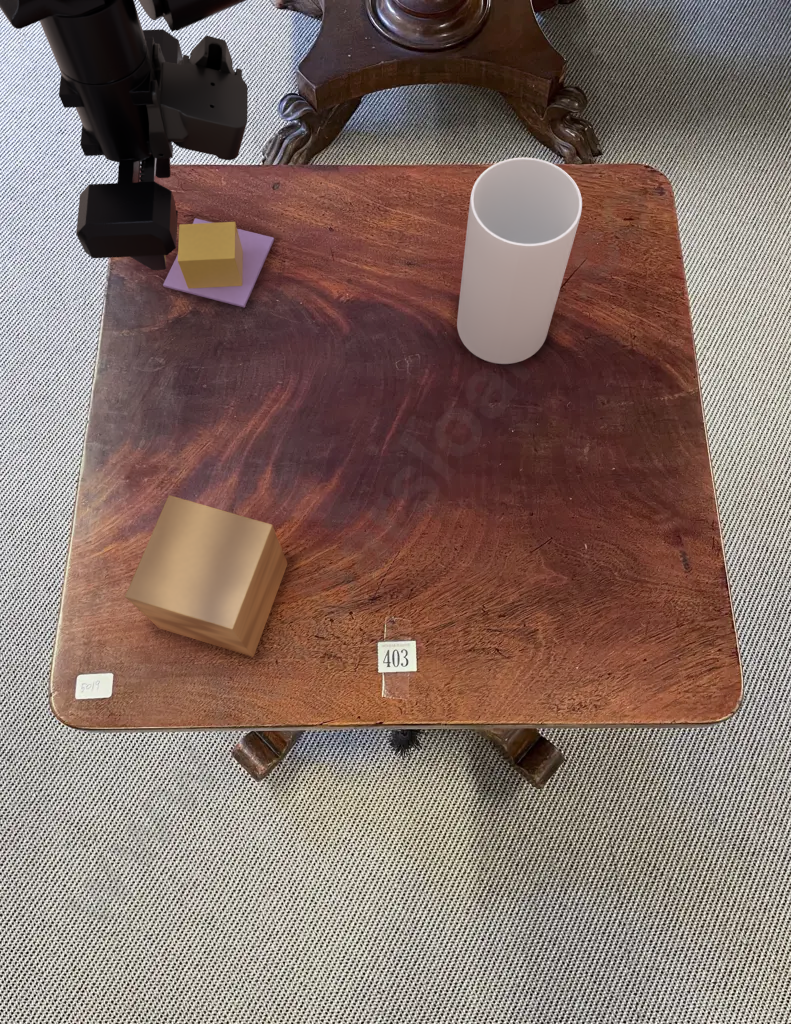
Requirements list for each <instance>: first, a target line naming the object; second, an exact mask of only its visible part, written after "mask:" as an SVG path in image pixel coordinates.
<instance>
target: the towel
mask: <svg viewBox="0 0 791 1024" xmlns="http://www.w3.org/2000/svg"><path fill="white" fill-rule="evenodd" d="M199 223H214V222H213V221H208V220H204V219H201V218H196V217H195V218H194V219H193V221H192V224H199ZM237 230H238V234H239V238H240V242H241V246H242V249H243V280H242V286H229V287H209V288H188V287H187V284H186V281H185V279H184V276H183V273H182V271H181V268H180V266H179V263H178V254H177V255H176V257H175V259H174V261H173V263H172V266H171V268H170V270H169V271H168V274H167V275H166V277H165V280H164V282H163V284H162V286H163V287H164V288H167V289H170V290H174V291H179V292H182V293H185V294H190V295H193V296H197V297H202V298H205V299H210V300H214V301H218V302H220V303H225V304H229V305H232V306H236V307H240V308H246V305H247V303H248V301H249V299H250V296H251V294H252V292H253V289H254V288H255V285H256V283H257V281H258V278H259V276H260V273H261V271H262V269H263V266H264V265H265V262H266V260H267V257H268V256H269V253H270V251H271V248H272V246H273V243H274V241H275V237H272V236H269V235H265V234H261V233H256V232H253V231H249V230H244V229H240V228H237Z"/></svg>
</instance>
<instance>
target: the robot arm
mask: <svg viewBox="0 0 791 1024" xmlns="http://www.w3.org/2000/svg"><path fill="white" fill-rule="evenodd" d="M246 1H247V0H138V2H139V4H140V5H141V7H142V9H143V10H144V13H146V15H147V16H148V18H149V19H150V20H152V21H157V20H159V19H161V18H163V19H164V21H165V22H166V24H167V25H168V28H169V29H170V31H171V32H175V31H176V32H178V31H180V30H182V29H185V28H187V27H189V26H192V25H194V24H197V23H199V22H200V21H203V20H206V19H207V18H210V17H212V16H214V15H217V14H219V13H222V12H223V11H226V10H228V9H230V8H233V7H234V6H237V5H239V4H241V3H244V2H246ZM0 10H1V11H2V13H3V15H4V16H5V17H6V19H7V20H8V22H9V23H10V25H11V26H12V27H13V28H14V29H16V30H17V29H18V30H21V29H23V28H26V27H29V26H31V25H33V24H36V23H38V22H39V23H40V25H41V27H42V30H43V32H44V35H45V37H46V40H47V42H48V44H49V47H50V50H51V52H52V54H53V57H54V59H55V61H56V64H57V66H58V69H59V72H60V81H59V82H60V83H59V89H58V90H59V91H58V97H59V99H60V101H61V103H62V106H63V108H64V109H66V108H67V109H68V108H75V109H76V113H77V115H78V116H79V119H80V121H81V133H80V144H79V145H80V148H81V150H82V153H83V155H84V156H85V157H96V156H97V157H98V156H104V157H105V159H106V160H108V161H111V162H114V163H118V171H117V182H115V183H113V182H112V183H91V184H89V183H88V185H87V186H86V187H85V188H84V189H83V191H81V193H80V194H79V200H78V201H79V202H78V211H77V221H76V232H75V235H76V237H77V239H78V241H79V243H80V244H81V246H82V249H83V251H84V252H85V253H86V255H88V256H89V257H90V258H91V259H108V258H109V259H110V258H128V257H129V258H131V259H133V260H135V261H137V262H138V263H140V264H141V265H143V266H145V267H146V268H148V269H149V270H151V271H164V270H167V258H166V256H168V255H170V254H171V253H172V252H173V251H174V250H176V249H177V237H178V219H179V217H178V215H179V210H177V207H176V201H175V198H174V195H173V194H174V193H173V192H172V189H169V188H167V187H165V186H164V185H162V184H160V183H158V182H156V178H158V179H168V178H171V175H172V174H171V173H172V172H171V171H172V169H171V159H172V158H173V156H174V146H173V144H174V145H175V146H177V147H179V148H181V149H183V150H188V151H192V152H196V153H202V154H207V155H212V156H216V157H217V158H218V159H220V160H223V161H232V160H235V159H237V158H238V156H239V155H240V150H241V146H242V144H243V143H242V142H243V139H244V134H245V131H246V128H247V125H248V124H247V123H248V114H249V113H248V109H249V108H248V107H249V105H248V99H249V97H248V93H249V91H248V90H249V89H248V84H247V83H246V81H245V80H244V78H243V69H241V68H238V67H236V68H235V69H234V66H233V64H234V63H233V58H232V55H231V52H230V49H229V46H228V43H227V41H226V40H225V39H222V38H218V37H214V36H210V35H205V36H204V37H203V38H201V40H200V41H199V42H198V43H197V44H196V46H194V47H193V49H192V50H191V51H190V54H189V55H187V54H183V51H182V48H181V44H180V41H179V39H178V38H177V37H175V36H174V35H172V34H171V33H170V32H168V31H167V30H165V29H163V28H161V29H160V28H159V29H158V28H157V29H143V26H142V22H141V20H140V16H139V13H138V10H137V7H136V3H135V0H0Z"/></svg>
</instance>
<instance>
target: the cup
mask: <svg viewBox="0 0 791 1024" xmlns="http://www.w3.org/2000/svg"><path fill="white" fill-rule="evenodd" d="M469 197H470V198H469V205H468V213H467V214H468V215H467V216H468V217H467V224H466V234H465V243H464V245H465V246H464V251H463V252H464V253H463V261H462V269H461V270H462V273H461V281H460V290H459V298H458V310H457V319H456V328H457V334H458V336H459V339H460V340H461V342H462V344H463V345H464V347H465V348H466V349H467V350H468V352H470V353H471V354H473V355H474V356H475V357H477V358H479V359H481V360H484V361H486V362H488V363H492V364H499V365H509V364H516V363H520V362H523V361H526V360H527V359H529V358H531V357H532V356H533V355H535V354H536V353H537V352H539V350H540V349H541V348H542V346H543V345H544V343H545V342H546V339H547V337H548V333H549V329H550V325H551V322H552V319H553V315H554V312H555V309H556V304H557V301H558V297H559V294H560V290H561V287H562V284H563V280H564V277H565V274H566V268H567V266H568V263H569V259H570V255H571V252H572V249H573V245H574V241H575V238H576V234H577V230H578V227H579V223H580V221H581V216H582V210H583V198H582V194H581V190H580V188H579V186H578V185H577V183H576V181H575V180H574V179H573V178H572V176H570V175H569V173H567V172H566V170H564V169H563V168H561V167H559V166H558V165H557V164H554V163H552V162H550V161H547V160H545V159H540V158H535V157H525V156H524V157H513V158H508V159H504V160H501V161H498V162H496V163H494V164H492V165H490V166H489V167H488V168H486V169H485V170H484V171H483V172H482V173H481V174H480V175H479V176H478V177H477V179H476V180H475V182H474V184H473V187H472V190H471V192H470V196H469Z"/></svg>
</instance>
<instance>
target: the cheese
mask: <svg viewBox="0 0 791 1024" xmlns="http://www.w3.org/2000/svg"><path fill="white" fill-rule="evenodd" d="M178 226H179V227H178V244H177V245H178V247H177V255H178V263H179V266H180V268H181V271H182V273H183V276H184V279H185V281H186V284H187V287H188V288H209V287H229V286H242V280H243V249H242V246H241V242H240V238H239V234H238V230H237V229H238V227H237V223H236V221H224V222H223V221H221V222H213V223H199V224H193V223H182V224H178Z"/></svg>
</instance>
